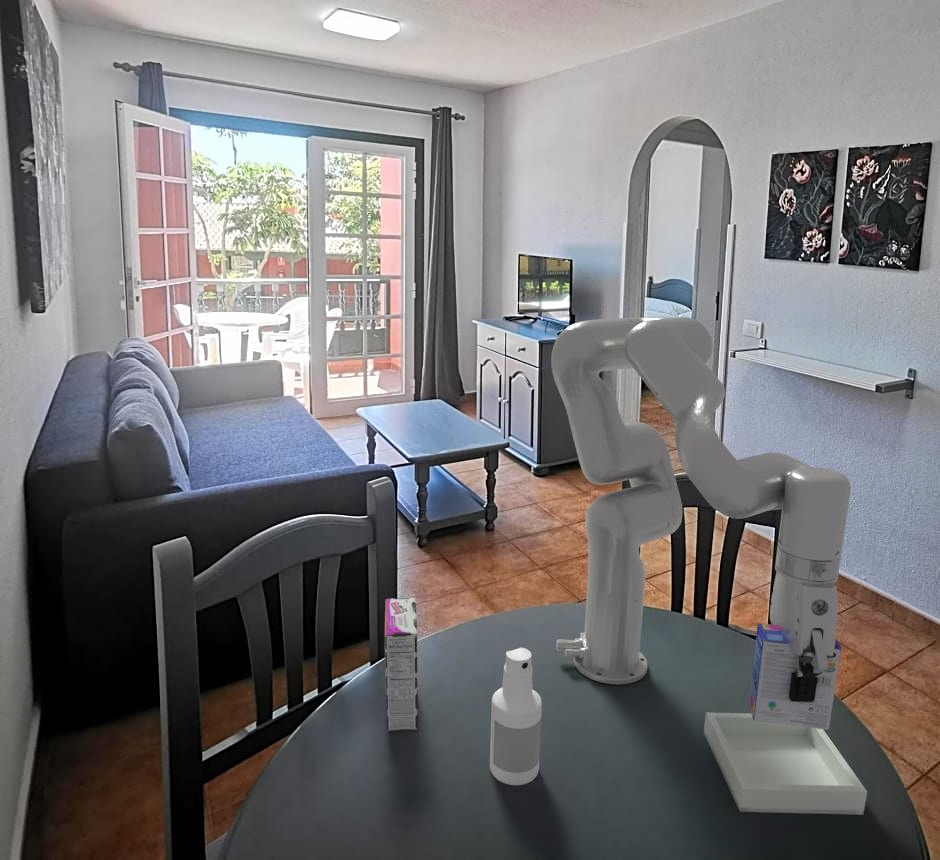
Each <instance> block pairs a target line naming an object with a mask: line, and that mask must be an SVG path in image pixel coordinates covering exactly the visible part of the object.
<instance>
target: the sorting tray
mask: <svg viewBox="0 0 940 860" xmlns="http://www.w3.org/2000/svg"><path fill="white" fill-rule="evenodd" d="M703 735H704V737H705V739H706V741H707V743H708V746H709V748H710V750H711V751H712V754H713V756H714V758H715V761H716V763H717V766H718V767H719V770H720V771H721V774H722V776H723V778H724V780H725V782H726V784H727V787H728V790H729V791H730V794H731V795H732V798H733V800H734V802H735V805H736V807H737V809H738V810H739V812H740V813H772V814H773V813H774V814H775V813H778V814H779V813H782V814H783V813H784V814H814V815H816V814H821V815H822V814H825V815H859V816H860V815H861V816H862V815H864V812H865V808H866V802H867V796H868V791H867V790H866V788H865V786H864V785H863V784H862V782H861V780H860V779H859V778H858V776H857V775H856V773H855V772H854V771H853V769H852V768H851V766H849V763H848V762H847V761H846V759H845V758H844V757H843V755H842V754H841V752H840V751H839V749H838V748H837V747H836V746H835V744H834V743H833V741H832V740H831V739H830V737H829V736H828V734H827V733H826V731H825V730H824V729H817V728H809V727H801V726H793V725H785V724H777V723H769V722H761V721H755V720H753V717H752V713H751V712H750V713H749V712H747V713H743V712H708V711H707V712H705V718H704V726H703Z"/></svg>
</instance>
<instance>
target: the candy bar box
mask: <svg viewBox="0 0 940 860" xmlns="http://www.w3.org/2000/svg"><path fill="white" fill-rule="evenodd" d="M384 602H385V603H384V604H385V608H384V675H385V679H384V681H385V713H386V730H387V731H388V732H403V731H417V730H418V729H419V676H418V674H419V668H418V667H419V662H418V657H419V656H418V620H417V619H418V617H417V604H416V598H415V597H410V598H409V597H408V598H407V597H404V598H403V597H401V598H400V597H397V598H394V597H393V598H387V599H385V601H384Z"/></svg>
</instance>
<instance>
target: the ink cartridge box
mask: <svg viewBox="0 0 940 860" xmlns="http://www.w3.org/2000/svg"><path fill="white" fill-rule="evenodd" d="M755 637H756V638H755V646H754V658H753V667H752V675H751V683H750V692H749V698H748V703H749V709H750V713H751V714H752V717H753V720H755V721H761V722H769V723H777V724H785V725H793V726H801V727H809V728H817V729H823V730H824V731H825V730H826V731H828V730H830V727H831V726H830V725H831V719H832V713H833V712H832V711H833V706H834V698H835V691H836V685H837V679H838V678H837V677H838V672H839V666H840V660H841V654H842V647H841V645H840V643H839V642H838V639H837V638H836V637H835V646H834V652H833V655H832V656H829V657H828V656H826V657H827V661H828V669H827V670H825V671H823V672H822V673H821V674H820V677H818V680H817V686H816V693H815V700H814V701H813V702H792V701H790V699H789V690H790V682H791V675H792V672H795V653H794V652H793V651H792V650H791V649H790V648H789V643H788V641H787V640H786V639H785V637H784V636H783V635H782V634H781V633H780V631H779V630H778V629H777V627H776V626H775V625H772V624H771V623H770V624H769V623H760V622H759V623H757V626H756V636H755ZM803 651H811V647H807V648H806V649H803ZM811 662H812V657H803V665H805V664H807V663H811Z"/></svg>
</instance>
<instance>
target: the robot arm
mask: <svg viewBox="0 0 940 860" xmlns="http://www.w3.org/2000/svg"><path fill="white" fill-rule="evenodd" d="M712 352H713V340H712V336H711V334H710V332H709V330H708V328H706V326H705V325H704V324H703V323H702V322H700V321H699V320H697V319H695V318H692V317H688V316H687V317H685V316H683V317H681V316H680V317H623V318H601V319H600V318H599V319H589V320H583V321H579V322H575V323H572V324H570V325H569V326H567V327H566V328H564V329H563V330H562V331H561V332H560V333H559V334H558V336H557V337H556V339H555V341H554V344H553V347H552V351H551V362H550V363H551V372H552V376H553V380H554V382H555V385H556V388H557V390H558V393H559V395H560V397H561V401H562V402H563V405H564V408H565V410H566V413H567V418H568V423H569V427H570V430H571V435H572V439H573V443H574V446H575V450H576V454H577V458H578V462H579V465H580V468H581V469H580V470H581V471H582V473H583V475H584V478H586V480H587V481H588V482H590V483H592V484H594V485H599V486H601V485H611V484H616V483H620V482H624V481H629V483H630V484H629V485H630V487H627V488H622V489H619V490H616V491H615V490H614V491H612V492H611V491H610V492H608V493H605V494H603V495H601V496H599V497H597V498H596V499H595V500H594V501H592V503H590V505H589V506H588V508H587V509H586V514H585V517H584V518H585V521H584V522H585V532H586V537H587V549H588V550H587V551H588V565H587V569H588V570H587V584H586V585H587V587H586V588H587V589H586V603H585V617H584V618H585V619H584V632H579V633H580V634H579V638H577V637H575V638H574V639H562V638H561V639H560V638H559V639H556V651H559V652H564V656H565V658H573V663H574V666H575V667H576V669H577V671H579V672H580V673H581V674H582V675H583V676H585V677H587V678H589V679H591V680H593V681H596V682H599V683H603V684H608V685H619V686H620V685H629V684H632V683H635V682H638V681H639V680H641V679H643V678H644V677H645V675H646V674H647V671H648V660H647V659H646V656H644V654H643V653H642V652H641V651H640V648H641V646H640V645H641V636H642V635H641V634H642V626H643V625H642V624H643V613H644V612H643V611H644V601H645V591H646V590H645V588H646V567H645V564H644V562H643V559H642V558H641V555H640V552H639V550H640V547H641V546H643V545H646V544H647V543H651V542H653V541H656V540H660V539H663V538H666V537H668V536H670V535H672V534H674V533H675V532H676V531H677V530H678V529H679V527H680V526H681V523H682V521H683V520H682V519H683V503H682V499H681V495H680V491H679V487H678V484H677V479H676V476H675V472H674V469H673V464H672V461H671V460H672V459H671V457H670V456H671V455H670V454H669V450H668V446H667V445H666V441H665V440H664V438H663V437H662V435H661V434H660V432H659V431H658V430H657V429H656V428H654V427H653V426H652V425H651V424H650V423H649V424H648V423H646V422H642V421H634V422H628V423H624V422H623V420H622V419H623V418H622V416H621V413H620V409H619V404H618V401H617V398H616V396H615V394H614V392H613V391H612V390H611V388H610V387H609V385H608V384H607V383H606V382H605V381H604V379H602V378H601V377H600V373H601V372H607V371H615V370H623V369H624V370H625V369H626V370H627V369H633V370H635V372H636V373H637V374H638V376H639V377H640V378H641V380H642V382H644V384H645V385H646V386H647V388H648V389H649V390H650V392H652V394H653V395H654V396H655V397H656V399H657V400H658V402H659V403H660V404H661V405H662V407H663V409H664V410H665V411H666V412H667V413H668V415H670V417H671V418H672V420H673V422H674V425H675V426H674V427H675V429H674V431H675V432H674V435H675V436H674V437H675V439H674V440H675V445H676V450H677V454H678V458H679V461H680V463H681V466H682V469H683V471H684V472H685V474H686V475H687V477H688V479H689V480H690V481H691V482H692V484H693V485H694V487H695V488H696V489H697V490H698V492H699V493H700V494H701V495H702V498H703V499H705V501H706V502H707V503H708V504H709V505H710V506H711V507H712V508H713V509H714V510H716V511H717V512H718V513H719V514H721V515H723V516H725V517H727V518H731V519H737V520H738V519H745V518H749V517H753V516H755V515H759V514H761V513H765V512H767V511H776V510H781V517H780V525H779V530H778V531H779V532H778V533H779V534H778V541H777V548H776V558H775V565H774V569H775V571H776V574H775V578H774V583H773V587H772V588H773V589H772V592H771V593H772V594H771V598H770V600H771V601H770V608H769V619H770V620H769V621H770V624H771V625H775V626H776V627H777V629H778V630H779V631H780V633H781V634H782V635H783V636H784V637H785V639H786V640H787V641H788V643H789V648H790V649H791V650H792V651H793V652H794V653H795V672H792V675H791V682H790V690H789V699H790V701H792V702H813V701H814V700H815V693H816V686H817V680H818V677H820V674H821V673H822V672H823V671H825V670H827V669H828V661H827V657H826V656H828V657H829V656H832V655H833V652H834V646H835V638H836V637H837V636H836V634H837V627H838V625H837V624H838V607H839V605H838V604H839V603H838V588H837V587H838V586H837V584H836V583H837V582H838V579H839V574H840V573H839V572H840V565H841V560H842V559H841V558H842V551H843V546H844V545H843V544H844V539H845V534H846V532H845V531H846V524H847V519H848V513H849V504H850V500H851V499H850V498H851V489H852V488H851V486H852V485H851V483H850V480H849V478H848V477H847V476H846V475H845V474H843V473H841V472H838V471H836V470H834V469H829V468H825V467H817V466H815V467H814V466H812V465H809V464H807V463H805V462H804V461H803V462H802V461H801V460H798V459H797V458H795V457H792V456H790V455H787V454H785V453H780V452H765V453H761V454H758V455H752V456H748V457H744V458H739V459H736V457H734V455H733V454H732V453H731V451H730V450H729V449H728V448H727V446H726V445H725V444H724V443H723V442H722V440H721V438H720V437H719V435H718V432H717V431H716V428H715V426H714V421H713V414H714V413H715V412H716V410H718V409H719V407H720V406H721V404H722V403H723V402H724V399H725V397H726V389H725V385H724V384H723V382H721V380H720V378H718V377H717V375H716V374H715V373H714V372H713V371H712V370H711V369H710V368H709V366H708V365H707V362H709V360H710V358H711V356H712V354H713V353H712ZM807 647H811V651H803V649H806V648H807ZM803 657H812V662H811V663H807V664H805V665H803Z"/></svg>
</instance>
